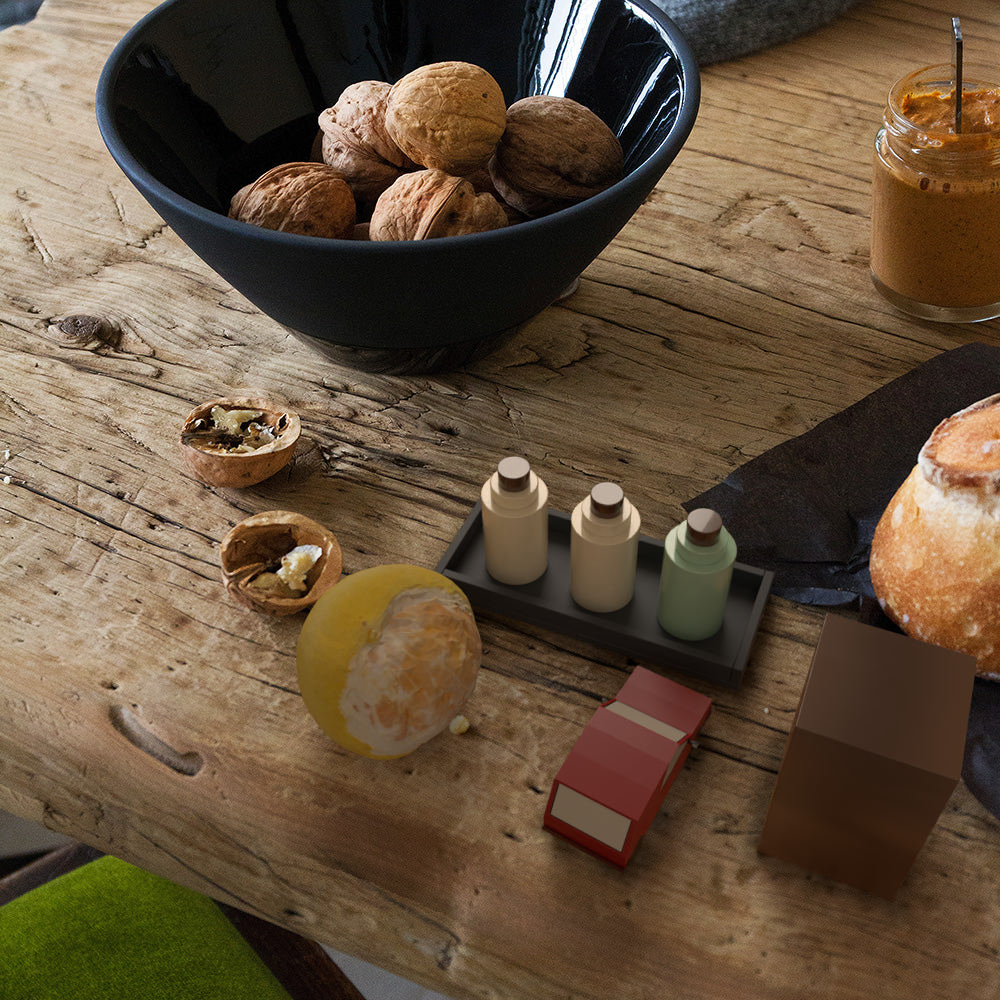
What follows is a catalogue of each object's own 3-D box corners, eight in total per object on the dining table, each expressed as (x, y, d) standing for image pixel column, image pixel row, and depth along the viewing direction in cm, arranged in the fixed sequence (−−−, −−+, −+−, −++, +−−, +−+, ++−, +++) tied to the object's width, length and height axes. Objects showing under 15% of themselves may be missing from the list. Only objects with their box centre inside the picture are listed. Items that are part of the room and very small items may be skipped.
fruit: (281, 761, 59) (245, 658, 52) (361, 620, 66) (339, 512, 59) (445, 815, 56) (431, 713, 49) (511, 662, 63) (506, 554, 56)
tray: (770, 593, 67) (775, 572, 65) (737, 692, 61) (742, 671, 60) (486, 510, 73) (484, 489, 71) (434, 593, 68) (432, 572, 66)
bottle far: (557, 548, 69) (558, 454, 63) (533, 593, 66) (532, 499, 60) (500, 531, 70) (496, 437, 64) (474, 574, 68) (467, 480, 62)
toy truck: (717, 725, 60) (730, 675, 56) (629, 891, 53) (638, 847, 49) (627, 682, 62) (634, 631, 58) (531, 836, 55) (533, 790, 52)
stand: (912, 786, 57) (977, 656, 48) (892, 901, 52) (960, 781, 44) (785, 743, 59) (826, 612, 50) (756, 850, 54) (794, 726, 46)
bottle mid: (642, 573, 67) (652, 479, 61) (621, 620, 65) (629, 527, 59) (582, 555, 69) (586, 461, 62) (559, 601, 66) (561, 507, 60)
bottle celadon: (731, 600, 66) (750, 505, 59) (713, 649, 63) (731, 556, 57) (667, 581, 67) (679, 486, 61) (647, 628, 64) (658, 535, 58)
